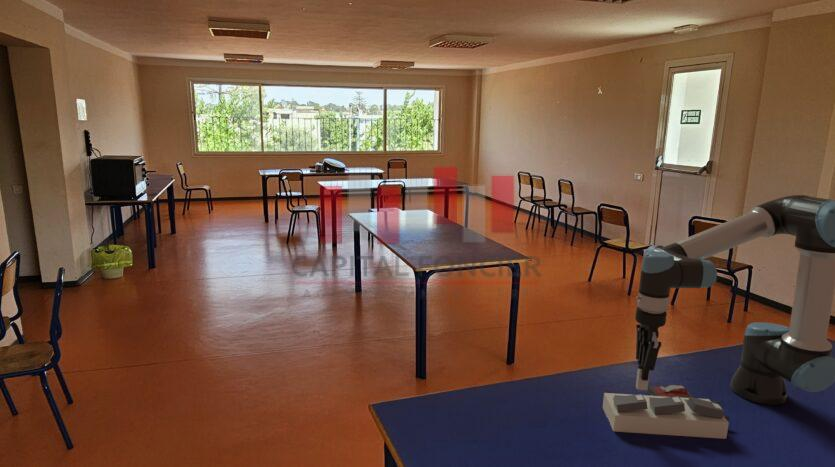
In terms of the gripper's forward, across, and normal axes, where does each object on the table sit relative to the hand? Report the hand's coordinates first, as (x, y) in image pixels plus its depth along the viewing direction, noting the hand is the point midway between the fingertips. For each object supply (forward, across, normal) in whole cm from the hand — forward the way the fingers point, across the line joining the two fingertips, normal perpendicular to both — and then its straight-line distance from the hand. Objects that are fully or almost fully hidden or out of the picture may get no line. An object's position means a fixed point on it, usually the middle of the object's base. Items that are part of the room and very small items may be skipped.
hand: (641, 388), depth 144 cm
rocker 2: (+6, 0, +8) cm, 9 cm away
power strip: (+12, -3, +9) cm, 15 cm away
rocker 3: (+5, 0, +18) cm, 19 cm away
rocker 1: (+6, 0, -2) cm, 6 cm away
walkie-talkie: (+12, -16, +18) cm, 27 cm away
